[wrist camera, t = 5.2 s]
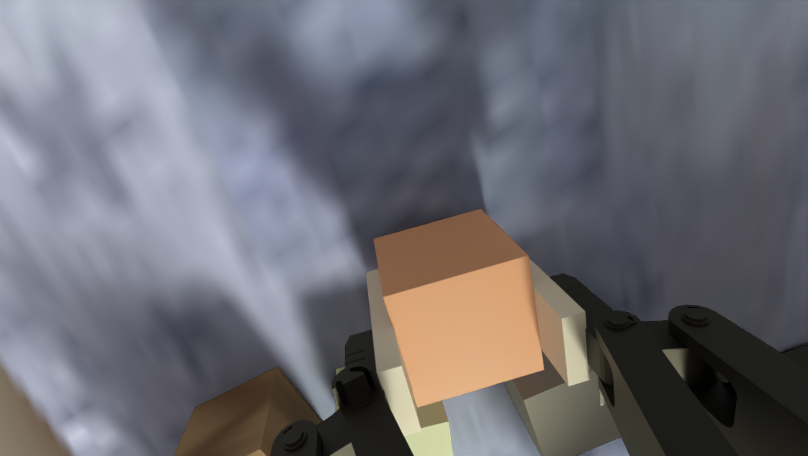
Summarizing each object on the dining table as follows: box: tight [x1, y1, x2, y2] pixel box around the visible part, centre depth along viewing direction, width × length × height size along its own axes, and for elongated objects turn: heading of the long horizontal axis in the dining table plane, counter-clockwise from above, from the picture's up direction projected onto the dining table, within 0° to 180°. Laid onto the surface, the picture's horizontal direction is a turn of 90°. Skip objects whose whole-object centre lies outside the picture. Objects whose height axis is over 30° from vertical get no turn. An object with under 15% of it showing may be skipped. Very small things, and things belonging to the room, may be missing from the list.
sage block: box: [336, 367, 453, 456], centre depth 20 cm, size 5×5×5 cm
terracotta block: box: [374, 209, 544, 408], centre depth 16 cm, size 5×5×5 cm
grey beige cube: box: [504, 350, 621, 456], centre depth 21 cm, size 5×5×5 cm
